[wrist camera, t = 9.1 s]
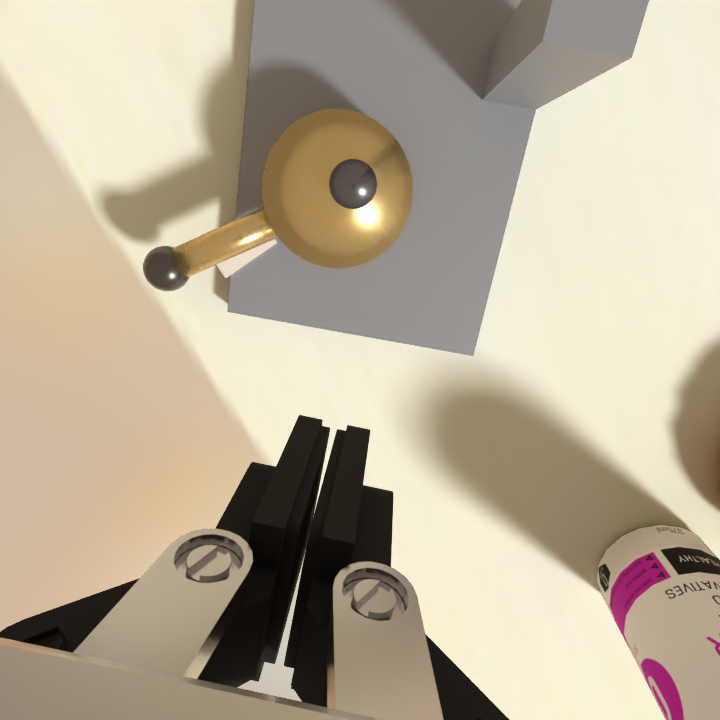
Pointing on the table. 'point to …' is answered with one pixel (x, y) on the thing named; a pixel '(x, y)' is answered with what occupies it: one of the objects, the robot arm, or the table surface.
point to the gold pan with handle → (311, 200)
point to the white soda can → (668, 615)
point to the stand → (414, 144)
